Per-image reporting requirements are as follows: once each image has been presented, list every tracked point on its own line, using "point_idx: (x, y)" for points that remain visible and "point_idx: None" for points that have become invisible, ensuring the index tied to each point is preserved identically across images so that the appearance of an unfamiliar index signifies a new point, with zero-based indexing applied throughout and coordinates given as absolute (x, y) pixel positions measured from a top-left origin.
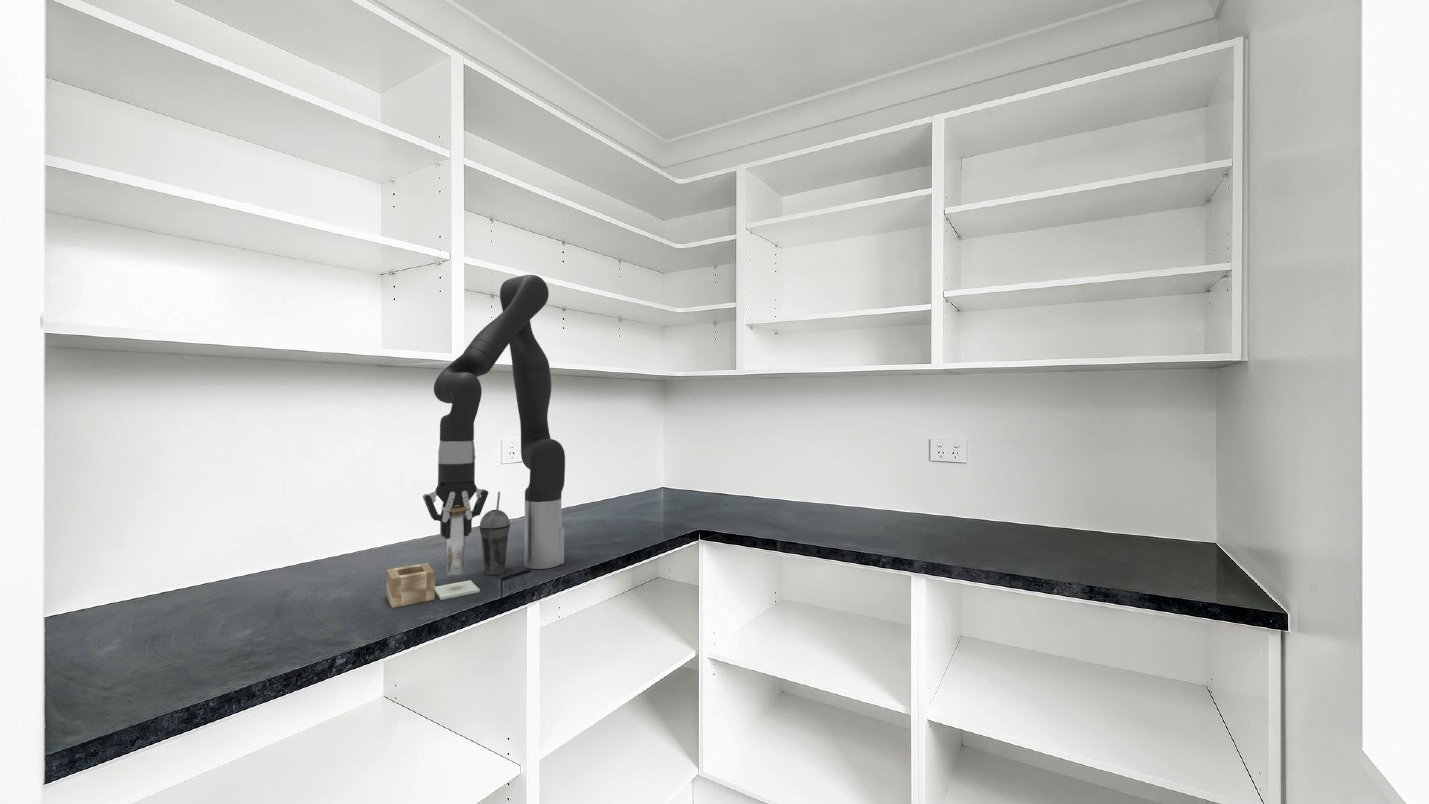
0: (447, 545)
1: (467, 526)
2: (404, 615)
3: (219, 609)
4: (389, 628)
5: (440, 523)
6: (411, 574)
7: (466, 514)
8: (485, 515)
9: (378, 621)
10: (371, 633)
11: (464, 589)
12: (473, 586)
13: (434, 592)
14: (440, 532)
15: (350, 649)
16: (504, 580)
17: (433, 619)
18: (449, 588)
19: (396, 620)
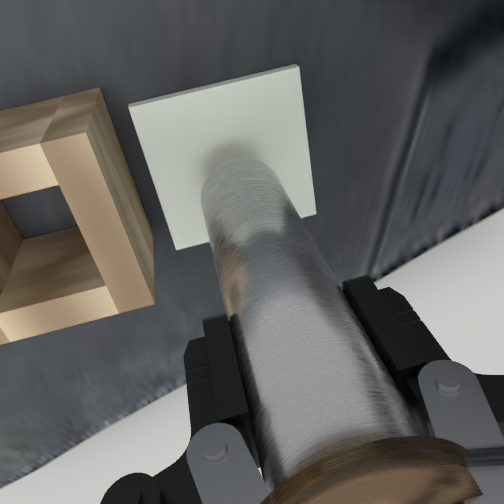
0: (223, 303)
1: None
2: (75, 340)
3: None
4: (59, 409)
5: (191, 428)
6: (48, 313)
7: None
8: None
9: (5, 364)
10: (19, 426)
11: None
12: (300, 169)
13: (152, 249)
14: (186, 368)
15: (4, 483)
16: (433, 91)
17: (168, 382)
18: (204, 158)
19: (61, 368)
